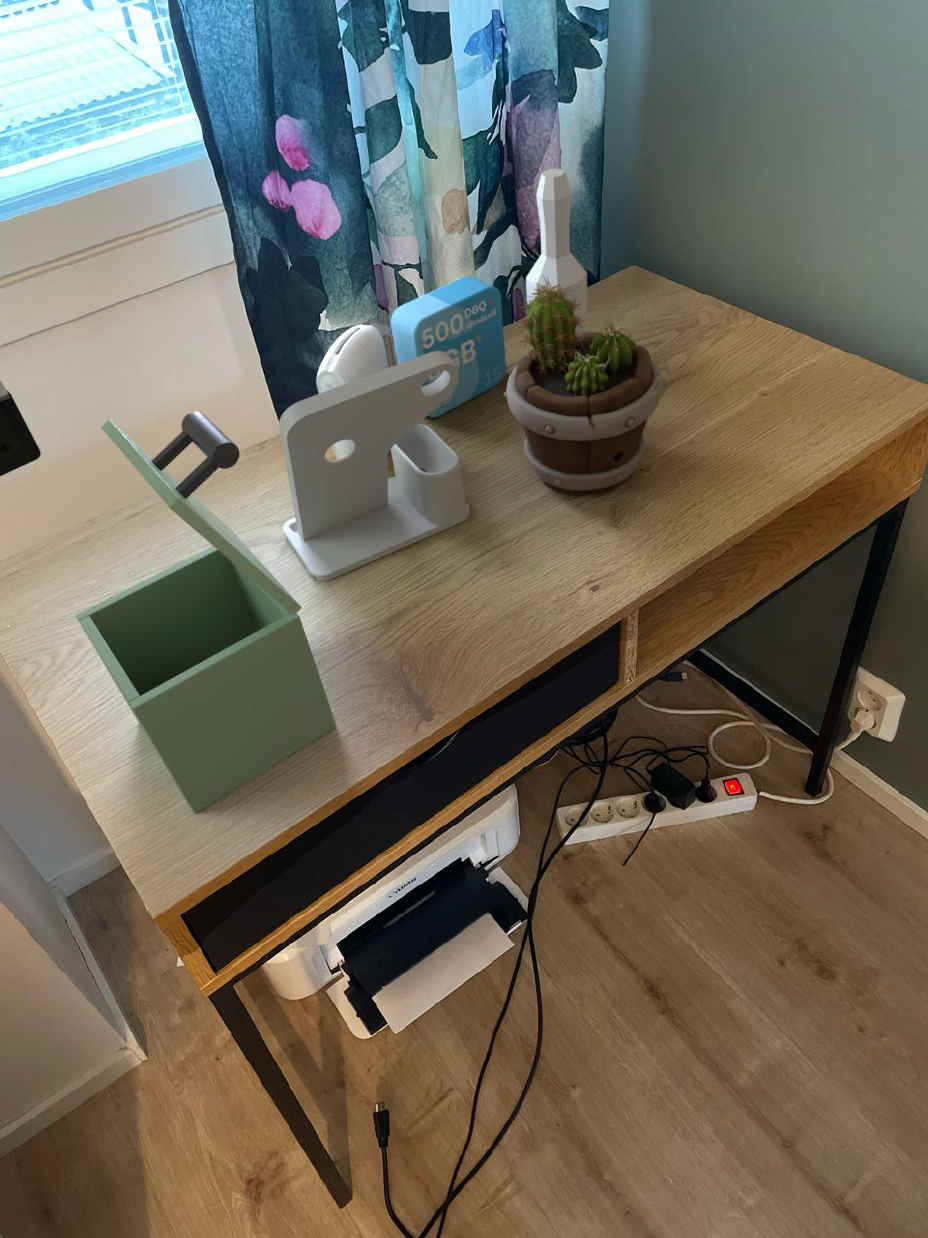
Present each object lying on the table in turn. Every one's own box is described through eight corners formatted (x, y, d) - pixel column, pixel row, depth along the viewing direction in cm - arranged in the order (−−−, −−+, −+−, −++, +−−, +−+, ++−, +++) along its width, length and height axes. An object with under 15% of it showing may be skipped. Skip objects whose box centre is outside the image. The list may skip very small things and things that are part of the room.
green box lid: (169, 507, 52) (236, 443, 52) (100, 426, 59) (159, 370, 59) (294, 615, 63) (349, 561, 63) (223, 536, 70) (273, 488, 70)
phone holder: (431, 466, 95) (406, 307, 82) (478, 515, 89) (459, 351, 76) (280, 529, 91) (229, 370, 78) (318, 586, 84) (269, 423, 71)
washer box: (195, 814, 68) (132, 709, 59) (138, 721, 75) (74, 614, 66) (337, 726, 72) (299, 616, 63) (270, 647, 79) (228, 537, 70)
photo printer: (366, 469, 96) (343, 366, 87) (330, 464, 98) (304, 362, 89) (403, 416, 103) (385, 315, 94) (369, 412, 104) (348, 312, 95)
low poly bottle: (557, 347, 110) (551, 156, 94) (597, 363, 106) (597, 168, 90) (521, 369, 107) (509, 176, 91) (560, 387, 103) (554, 189, 88)
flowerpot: (683, 447, 93) (699, 259, 79) (607, 531, 85) (610, 338, 71) (564, 411, 100) (559, 231, 86) (484, 485, 92) (464, 301, 78)
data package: (427, 423, 101) (412, 324, 93) (404, 408, 104) (387, 310, 95) (508, 379, 106) (500, 282, 97) (483, 366, 108) (474, 270, 100)
